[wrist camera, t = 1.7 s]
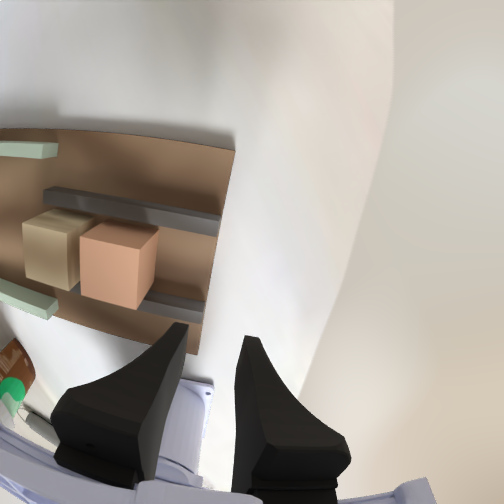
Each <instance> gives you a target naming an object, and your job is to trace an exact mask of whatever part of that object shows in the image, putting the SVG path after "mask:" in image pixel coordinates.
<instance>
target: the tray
mask: <svg viewBox="0 0 504 504" xmlns="http://www.w3.org/2000/svg"><path fill="white" fill-rule="evenodd" d="M58 144H59V143H50V142H31V141H0V156H12V157H25V158H37V159H44V158H50V157H57V152H58ZM0 301H2V302H4V303H7V304H9V305H11V306H13V307H16V308H18V309H20V310H23V311H25V312H28V313H30V314H33V315H35V316H38V317H40V318H43V319H46V320H48V319H49V318H50V317H51V316H52V315H53V314H54V313H55V312H56V311H57V310H58V309H59V307H58V299H56V298H53V297H50V296H47V295H44V294H41V293H39V292H36V291H33V290H30V289H27V288H25V287H22V286H19V285H17V284H14V283H12V282H9V281H6V280H4V279H1V278H0Z"/></svg>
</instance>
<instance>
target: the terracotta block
mask: <svg viewBox="0 0 504 504" xmlns="http://www.w3.org/2000/svg"><path fill="white" fill-rule="evenodd" d="M158 235H159V229H154V228H149V227H144V226H139V225H134V224H129V223H124V222H119V221H114V220H109V219H107V220H105V221H103V222H102V223H100V224H99V225H97V226H95V227H94V228H92V229H91V230H89V231H87V232H86V233H84V234H83V235H81V236H80V283H81V295H83V296H86V297H90V298H93V299H97V300H100V301H104V302H108V303H111V304H115V305H119V306H123V307H126V308H130V309H134V310H137V308H138V307H139V305H140V303H141V302H142V300H143V298H144V297H145V295H146V294H147V292H148V290H149V289H150V287H151V286H152V284H153V282H154V274H155V263H156V253H157V244H158Z"/></svg>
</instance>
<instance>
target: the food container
mask: <svg viewBox="0 0 504 504" xmlns="http://www.w3.org/2000/svg"><path fill="white" fill-rule="evenodd" d="M34 379H35V369H34V366H33V363H32V361H31V359H30V357H29V356H28V354H27V352H26V351H25V349H24V348H23V347H22V345H21V344H20V343H19V342H18V340H17V339H16V338H14V339H13V340H12V341H11V342H10V343H9V344H8V345H7V346H6V347H5V348H4V349H3V350H2V351H1V353H0V421H1V424H2V425H4V426H5V427H7V428H9V429H10V430H12V431H13V430H14V428H15V424H14V421H13V418H14V416H15V414H16V412H17V410H18V408H19V406H20V404H21V403H22V401H23V399H24V397H25V395H26V393H27V392H28V390H29V388H30V386H31V385H32V383H33V381H34Z"/></svg>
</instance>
